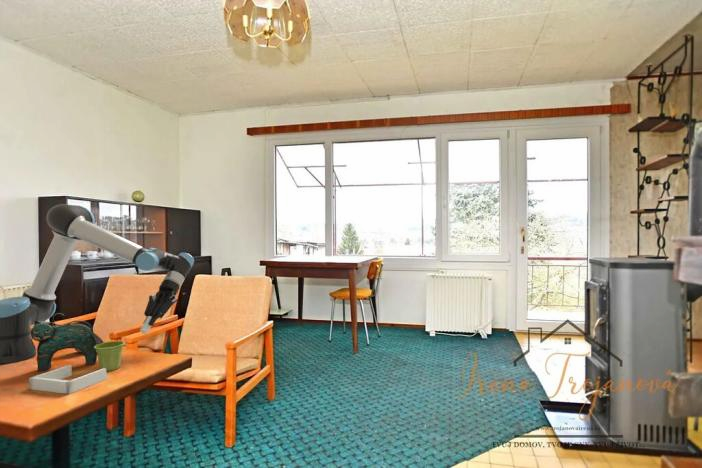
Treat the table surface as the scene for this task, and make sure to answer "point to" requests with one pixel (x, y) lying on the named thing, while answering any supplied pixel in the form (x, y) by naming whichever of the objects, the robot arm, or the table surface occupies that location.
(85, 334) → the ceramic cat
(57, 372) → the white u-shaped frame
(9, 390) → the table surface
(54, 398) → the table surface
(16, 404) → the table surface
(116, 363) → the plant pot
